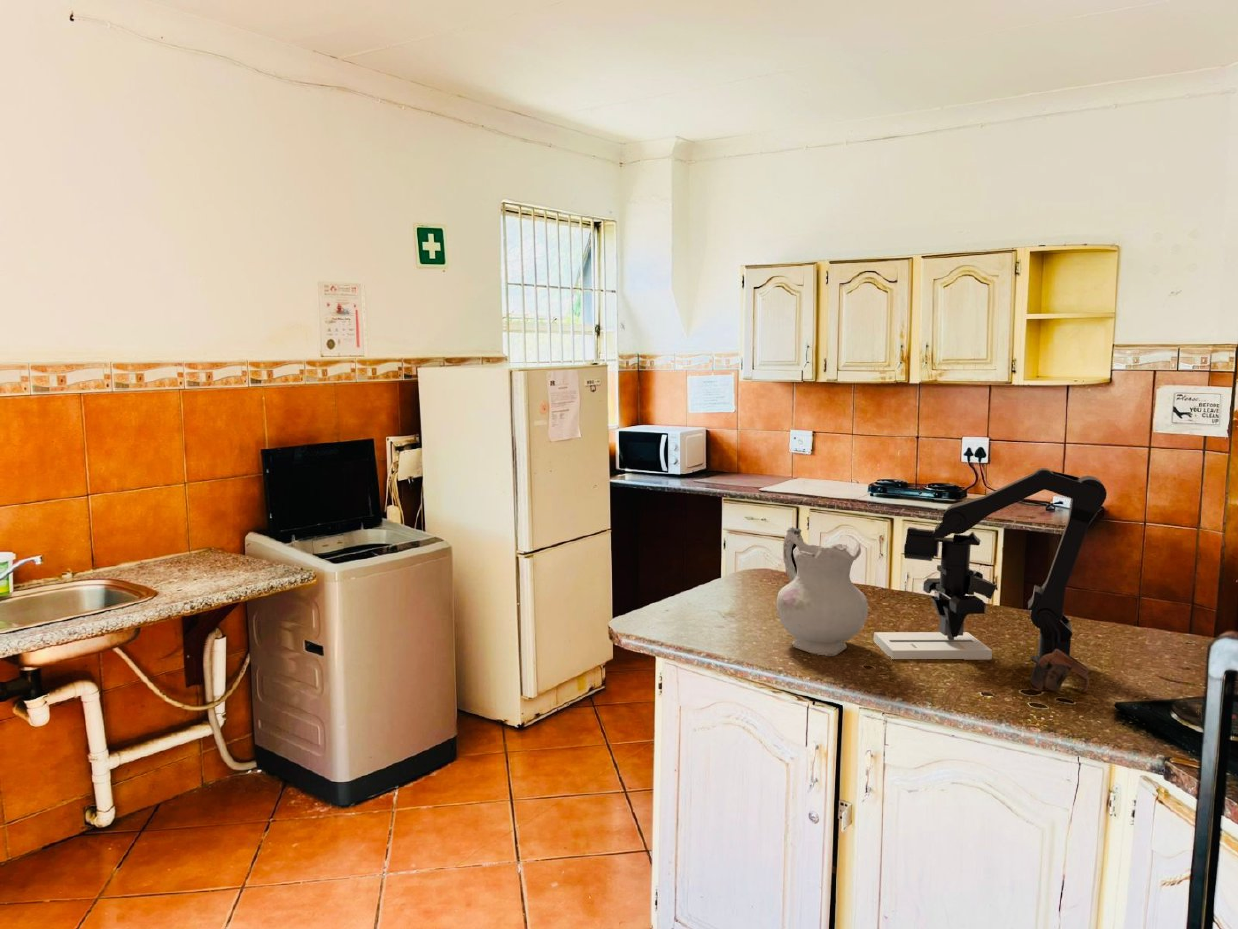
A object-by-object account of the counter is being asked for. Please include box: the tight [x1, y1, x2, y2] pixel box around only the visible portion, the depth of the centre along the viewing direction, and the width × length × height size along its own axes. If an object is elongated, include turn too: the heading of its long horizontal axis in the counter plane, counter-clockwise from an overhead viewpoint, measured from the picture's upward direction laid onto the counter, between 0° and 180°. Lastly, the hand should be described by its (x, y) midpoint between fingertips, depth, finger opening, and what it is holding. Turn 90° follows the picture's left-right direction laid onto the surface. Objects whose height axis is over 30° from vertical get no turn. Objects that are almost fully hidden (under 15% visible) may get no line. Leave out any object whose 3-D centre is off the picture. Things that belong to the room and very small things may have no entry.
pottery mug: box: [1029, 649, 1092, 693], centre depth 167 cm, size 12×9×8 cm
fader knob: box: [938, 615, 965, 640], centre depth 188 cm, size 3×4×5 cm
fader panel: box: [873, 631, 993, 660], centre depth 189 cm, size 12×21×2 cm, turn 92°
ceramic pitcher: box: [776, 527, 869, 657], centre depth 190 cm, size 22×20×25 cm
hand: (951, 634), depth 189 cm, fingers closed on fader knob, 3 cm apart
